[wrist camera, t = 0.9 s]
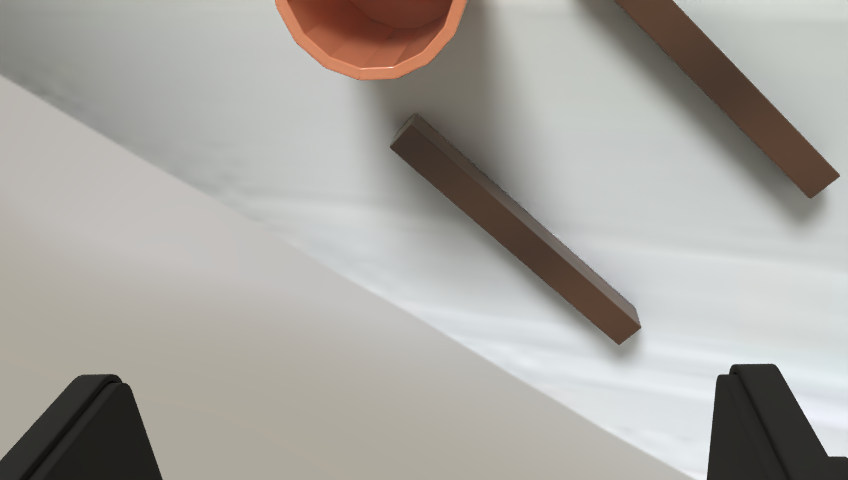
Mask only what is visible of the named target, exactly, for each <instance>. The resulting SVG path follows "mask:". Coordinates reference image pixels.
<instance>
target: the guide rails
mask: <svg viewBox="0 0 848 480" xmlns="http://www.w3.org/2000/svg"><path fill="white" fill-rule="evenodd" d="M614 1H615V2H616V3H617V4H618V5H619V6H620V7H621V8H622V9H623V10H624V11H625V12H626V13H627V14H628V15H629V16H630V17H631V18H632V19H633V20H634V21H635V22H636V23H637V24H638V25H639V26H640V27H641V28H642V29H643V30H644V31H645V32H646V33H647V34H648V35H649V36H650V37H651V38H652V39H653V40H654V41H655V42H656V43H657V44H658V45H659V46H660V47H661V49H662V50H663V51H664V52H665V53H666V54H667V55H668V56H669V57H670V58H671V59H672V60H673V61H674V62H675V63H676V64H677V65H678V66H679V67H680V68H681V69H682V70H683V71H684V72H685V73H686V74H687V75H688V76H689V77H690V78H691V79H692V80H693V81H694V82H695V83H696V84H697V85H698V86H699V87H700V88H701V89H702V90H703V91H704V92H705V93H706V94H707V95H708V96H709V97H710V98H711V99H712V100H713V101H714V102H715V103H716V104H717V105H718V106H719V107H720V108H721V109H722V110H723V111H724V113H725V114H726V115H727V116H728V117H729V118H730V119H731V120H732V121H733V122H734V123H735V124H736V125H737V126H738V127H739V128H740V129H741V130H742V131H743V132H744V133H745V134H746V135H747V136H748V137H749V138H750V139H751V140H752V141H753V142H754V143H755V144H756V145H757V146H758V147H759V148H760V149H761V150H762V151H763V152H764V153H765V154H766V155H767V156H768V157H769V158H770V159H771V160H772V161H773V162H774V163H775V164H776V165H777V166H778V167H779V168H780V169H781V170H782V171H783V172H784V173H785V174H786V175H787V177H788V178H789V179H790V180H791V181H792V182H793V183H794V184H795V185H796V186H797V187H798V188H799V189H800V190H801V191H802V192H803V193H804V194H805V195H806V196H807V197H808V198H810V199H811V198H812V197H814V196H815V195H816V194H818V193H819V192H820V191H821V190H823V189H824V188H825V187H827V186H828V185H829V184H831V183H832V182H833V181H835V180H836V179H837V178H838V177H840V174H839V173H838V172H837V171H836V170H835V169H834V168H833V167H832V166H831V165H830V164H829V163H828V162H827V161H826V160H825V159H824V158H823V157H822V156H821V155H820V154H819V153H818V152H817V150H816V149H815V148H814V147H813V146H812V145H811V144H810V143H809V142H808V141H807V140H806V139H805V138H804V137H803V136H802V135H801V134H800V133H799V132H798V131H797V130H796V129H795V128H794V126H793V125H792V124H791V123H790V122H789V121H788V120H787V119H786V118H785V117H784V116H783V115H782V114H781V113H780V112H779V111H778V110H777V109H776V108H775V107H774V106H773V105H772V104H771V103H770V101H769V100H768V99H767V98H766V97H765V96H764V95H763V94H762V93H761V92H760V91H759V90H758V89H757V88H756V87H755V86H754V85H753V84H752V83H751V82H750V81H749V80H748V79H747V77H746V76H745V75H744V74H743V73H742V72H741V71H740V70H739V69H738V68H737V67H736V66H735V65H734V64H733V63H732V62H731V61H730V60H729V59H728V58H727V57H726V56H725V55H724V53H723V52H722V51H721V50H720V49H719V48H718V47H717V46H716V45H715V44H714V43H713V42H712V41H711V40H710V39H709V38H708V37H707V36H706V35H705V34H704V33H703V32H702V31H701V29H700V28H699V27H698V26H697V25H696V24H695V23H694V22H693V21H692V20H691V19H690V18H689V17H688V16H687V15H686V14H685V13H684V12H683V11H682V10H681V9H680V8H679V7H678V5H677V4H676V3H675V2H674V1H673V0H614ZM390 148H391V149H392V150H393V151H394V152H395V153H396V154H398V155H399V156H400V157H401V158H402V159H403V160H405V161H406V162H407V163H408V164H409V165H410V166H412V167H413V168H414V169H415V170H416V171H417V172H418V173H420V174H421V175H422V176H423V177H424V178H425V179H427V180H428V181H429V182H430V183H431V184H432V185H434V186H435V187H436V188H437V189H438V190H439V191H441V192H442V193H443V194H444V195H445V196H446V197H447V198H449V199H450V200H451V201H452V202H453V203H454V204H456V205H457V206H458V207H459V208H460V209H461V210H463V211H464V212H465V213H466V214H467V215H468V216H469V217H471V218H472V219H473V220H474V221H475V222H476V223H478V224H479V225H480V226H481V227H482V228H483V229H485V230H486V231H487V232H488V233H489V234H490V235H492V236H493V237H494V238H495V239H496V240H497V241H498V242H500V243H501V244H502V245H503V246H504V247H505V248H507V249H508V250H509V251H510V252H511V253H512V254H514V255H515V256H516V257H517V258H518V259H519V260H521V261H522V262H523V263H524V264H525V265H526V266H527V267H529V268H530V269H531V270H532V271H533V272H534V273H536V274H537V275H538V276H539V277H540V278H541V279H543V280H544V281H545V282H546V283H547V284H548V285H549V286H551V287H552V288H553V289H554V290H555V291H556V292H558V293H559V294H560V295H561V296H562V297H563V298H565V299H566V300H567V301H568V302H569V303H570V304H572V305H573V306H574V307H575V308H576V309H577V310H578V311H580V312H581V313H582V314H583V315H584V316H585V317H587V318H588V319H589V320H590V321H591V322H592V323H594V324H595V325H596V326H597V327H598V328H599V329H601V330H602V331H603V332H604V333H605V334H606V335H607V336H609V337H610V338H611V339H612V340H613V341H614V342H616V343H617V344H618V345H620V344H621V343H622V342H624V341H625V340H626V339H627V338H629V337H630V336H631V335H633V334H634V333H635V332H637V331H638V330H639V329H641V325H640V321H639V318H638V315H637V312H636V308H635V307H634V306H633V305H632V304H630V303H629V302H628V301H627V300H626V299H625V298H624V297H623V296H621V295H620V294H619V293H618V292H617V291H616V290H615V289H613V288H612V287H611V286H610V285H609V284H608V283H607V282H606V281H604V280H603V279H602V278H601V277H600V276H599V275H598V274H597V273H595V272H594V271H593V270H592V269H591V268H590V267H589V266H588V265H586V264H585V263H584V262H583V261H582V260H581V259H580V258H578V257H577V256H576V255H575V254H574V253H573V252H572V251H571V250H569V249H568V248H567V247H566V246H565V245H564V244H563V243H562V242H560V241H559V240H558V239H557V238H556V237H555V236H554V235H553V234H551V233H550V232H549V231H548V230H547V229H546V228H545V227H544V226H542V225H541V224H540V223H539V222H538V221H537V220H536V219H534V218H533V217H532V216H531V215H530V214H529V213H528V212H527V211H525V210H524V209H523V208H522V207H521V206H520V205H519V204H518V203H516V202H515V201H514V200H513V199H512V198H511V197H510V196H509V195H507V194H506V193H505V192H504V191H503V190H502V189H501V188H499V187H498V186H497V185H496V184H495V183H494V182H493V181H492V180H490V179H489V178H488V177H487V176H486V175H485V174H484V173H483V172H481V171H480V170H479V169H478V168H477V167H476V166H475V165H474V164H472V163H471V162H470V161H469V160H468V159H467V158H466V157H464V156H463V155H462V154H461V153H460V152H459V151H458V150H457V149H455V148H454V147H453V146H452V145H451V144H450V143H449V142H448V141H446V140H445V139H444V138H443V137H442V136H441V135H440V134H439V133H437V132H436V131H435V130H434V129H433V128H432V127H431V126H430V125H428V124H427V123H426V122H425V121H424V120H423V119H422V118H420V117H419V116H418V115H417V114H414V115H413V116H412V117H411V118H410V119H409V120H408V121H407V123H406V124H405V125H404V126H403V127H402V128H401V129H400V130H399V131H398V133H397V134H396V135H395V137H394V139H393V141H392V144H391V146H390Z"/></svg>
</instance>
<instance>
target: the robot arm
mask: <svg viewBox="0 0 848 480" xmlns="http://www.w3.org/2000/svg"><path fill="white" fill-rule="evenodd" d="M0 480H162V477H161V474H160V471H159V468H158V465H157V462H156V459H155V456H154V453H153V451H152V448H151V445H150V442H149V439H148V437H147V433H146V430H145V428H144V425H143V422H142V419H141V416H140V413H139V410H138V407H137V404H136V402H135V399H134V396H133V393H132V390H131V388H130V386H129V385H128V384H126V383H122V381H121V379H120V378H119V377H118V376H117V375H113V374H106V375H105V374H103V375H102V374H100V375H81V376H78V377H77V378H75V379H74V380H73V381H72V382H71V383H70V384H69V385H68V387H67V388H66V389H65V390H64V391H63V392H62V393H61V394H60V395H59V397H58V398H57V399H56V400H55V401H54V402H53V403H52V404H51V405H50V406H49V408H48V409H47V410H46V411H45V412H44V413H43V414H42V415H41V417H40V418H39V419H38V420H37V421H36V422H35V423H34V424H33V425H32V426H31V427H30V429H29V430H28V431H27V432H26V433H25V434H24V435H23V437H22V438H21V439H20V440H19V441H18V442H17V443H16V444H15V445H14V446H13V448H11V450H10V451H9V452H8V453H7V454H6V455H5V456H4V457H3V458H2V460H1V461H0ZM707 480H848V458H846V457H828V455H827V453H826V452H825V450H824V448H823V446H822V445H821V443H820V441H819V439H818V437H817V436H816V434H815V432H814V430H813V429H812V427H811V425H810V423H809V422H808V420H807V418H806V416H805V415H804V413H803V411H802V409H801V408H800V406H799V404H798V402H797V401H796V399H795V397H794V395H793V393H792V392H791V390H790V388H789V386H788V385H787V383H786V381H785V379H784V378H783V376H782V374H781V372H780V371H779V369H778V368H777V366H776V365H774V364H734V365H732V366H731V369H730V372H729V374H728V375H718V377H717V381H716V390H715V401H714V411H713V421H712V432H711V442H710V452H709V462H708V473H707Z"/></svg>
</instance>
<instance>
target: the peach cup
mask: <svg viewBox="0 0 848 480" xmlns="http://www.w3.org/2000/svg"><path fill="white" fill-rule="evenodd" d="M467 3H468V0H275V4H276V6H277V10H278V11H279V13H280V15H281V17H282V19H283V20H284V22H285V24H286V26H287V28H288V30H289V31H290V33H291V35H292V37H293V39H294V41H295V42H296V43H297V44H298V45H299V46H300V47H302V48H303V49H304V50H305V51H306V52H307V53H308V54H310V55H311V56H312V57H313V58H314V59H315V60H316V61H318V62H319V63H320V64H321V65H322V66H323V67H325V68H327V69H330V70H332V71H335V72H338V73H341V74H343V75H346V76H349V77H352V78H354V79H357V80H384V79H396V78H400V77H402V76H404V75H406V74H408V73H410V72H412V71H414V70H416V69H418V68H420V67H423V66H425V65H427V64H429V62H431V61H432V60H433V59H434V58H435V57H436V55H437V54H438V53H439V52H440V51H441V50H442V49H443V48H444V46H445V45H446V44H447V43H448V42H449V41H450V40H451V38H452V37H453V36H454V35H455V33H456V31H457V28H458V26H459V23H460V21H461V18H462V16H463V13H464V10H465V8H466V5H467Z"/></svg>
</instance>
